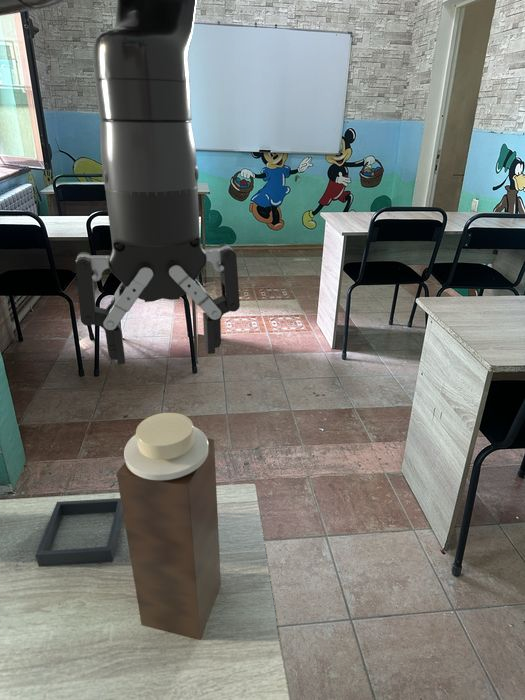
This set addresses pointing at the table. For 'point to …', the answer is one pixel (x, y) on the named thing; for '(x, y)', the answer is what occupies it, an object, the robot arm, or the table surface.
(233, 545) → the table surface
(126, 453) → the bottom plate
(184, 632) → the riser box
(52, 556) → the bin
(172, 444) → the top plate
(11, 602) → the table surface
